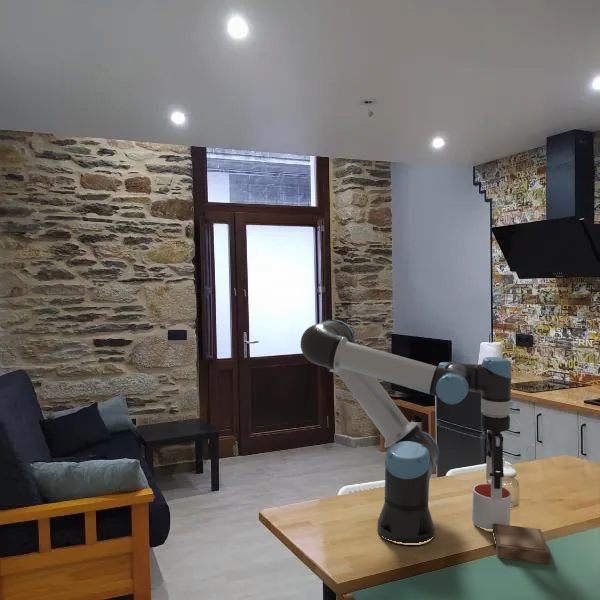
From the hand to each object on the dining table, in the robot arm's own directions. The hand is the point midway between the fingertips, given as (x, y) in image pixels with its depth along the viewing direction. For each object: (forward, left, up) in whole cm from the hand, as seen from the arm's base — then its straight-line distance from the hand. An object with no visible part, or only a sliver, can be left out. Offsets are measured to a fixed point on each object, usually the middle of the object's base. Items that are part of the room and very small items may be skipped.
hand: (493, 489), depth 155 cm
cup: (0, 0, -11) cm, 11 cm away
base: (+6, -11, -11) cm, 16 cm away
